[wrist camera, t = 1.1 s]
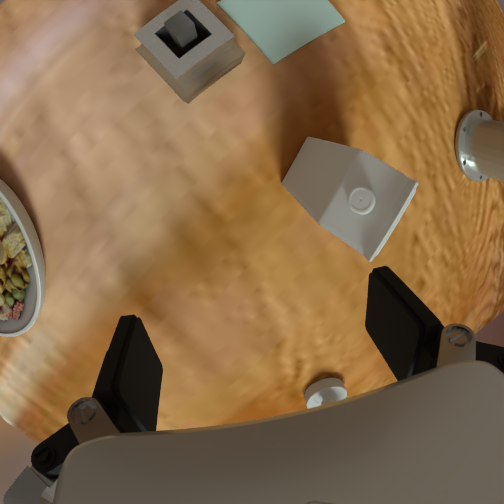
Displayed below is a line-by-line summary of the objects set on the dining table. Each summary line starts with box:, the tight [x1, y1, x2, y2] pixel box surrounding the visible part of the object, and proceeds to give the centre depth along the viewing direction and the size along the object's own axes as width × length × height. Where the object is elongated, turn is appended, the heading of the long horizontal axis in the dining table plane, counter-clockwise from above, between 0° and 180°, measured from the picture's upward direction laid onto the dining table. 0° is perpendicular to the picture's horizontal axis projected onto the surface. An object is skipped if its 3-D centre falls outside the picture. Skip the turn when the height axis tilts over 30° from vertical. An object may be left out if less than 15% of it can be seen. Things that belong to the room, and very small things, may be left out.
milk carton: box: [282, 137, 418, 262], centre depth 29 cm, size 7×7×19 cm
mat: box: [217, 0, 346, 65], centre depth 27 cm, size 12×11×1 cm
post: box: [135, 10, 245, 103], centre depth 23 cm, size 8×8×15 cm
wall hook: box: [304, 378, 347, 409], centre depth 53 cm, size 9×10×10 cm
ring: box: [134, 0, 235, 87], centre depth 22 cm, size 6×6×6 cm
